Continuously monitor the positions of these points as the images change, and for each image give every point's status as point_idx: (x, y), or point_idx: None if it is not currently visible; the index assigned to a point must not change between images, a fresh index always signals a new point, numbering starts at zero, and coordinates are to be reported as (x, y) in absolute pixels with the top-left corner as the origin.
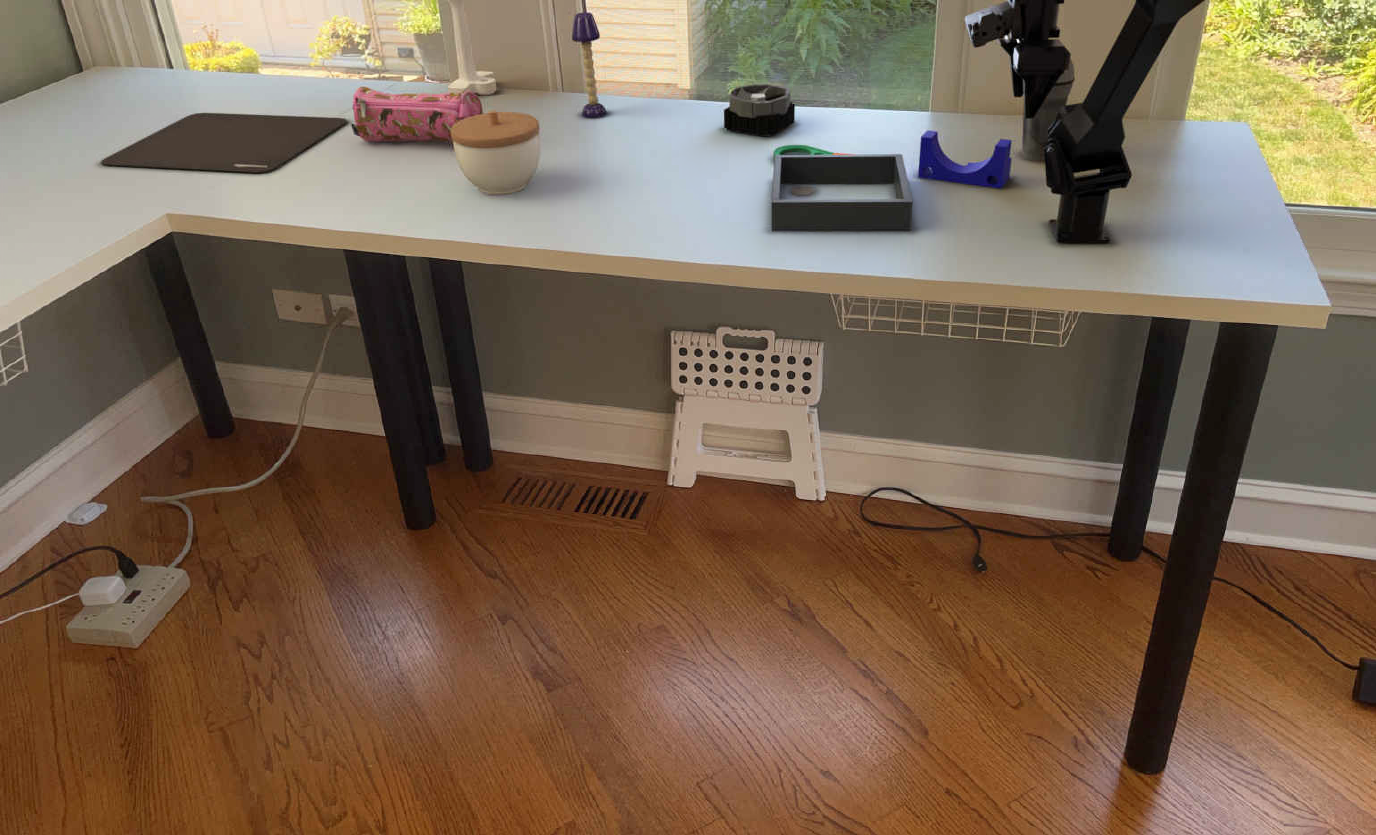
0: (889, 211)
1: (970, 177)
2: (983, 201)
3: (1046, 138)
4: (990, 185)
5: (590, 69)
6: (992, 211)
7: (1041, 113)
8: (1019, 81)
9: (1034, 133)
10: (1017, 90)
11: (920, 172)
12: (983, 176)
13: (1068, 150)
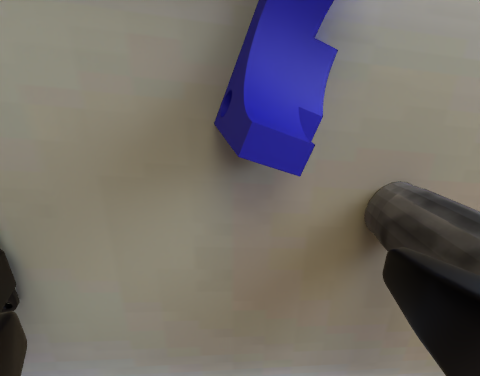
0: None
1: (248, 44)
2: (121, 68)
3: (391, 243)
4: (224, 98)
5: None
6: (46, 86)
7: None
8: (452, 320)
9: (409, 224)
10: (408, 280)
11: None
12: (236, 80)
13: None
